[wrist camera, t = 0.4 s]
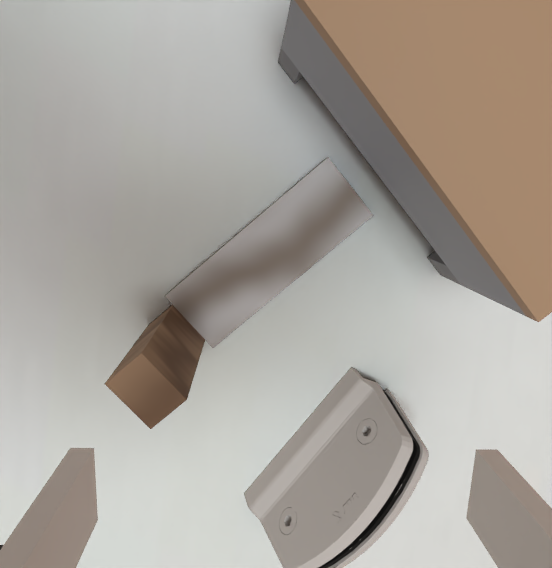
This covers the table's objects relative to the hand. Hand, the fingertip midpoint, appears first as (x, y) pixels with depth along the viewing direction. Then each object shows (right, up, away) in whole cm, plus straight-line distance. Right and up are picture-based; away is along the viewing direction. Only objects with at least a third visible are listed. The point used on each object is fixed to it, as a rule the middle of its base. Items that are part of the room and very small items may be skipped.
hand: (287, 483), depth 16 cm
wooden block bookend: (-2, +8, +23) cm, 25 cm away
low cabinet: (+11, +19, +21) cm, 31 cm away
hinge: (+4, -9, +28) cm, 29 cm away
